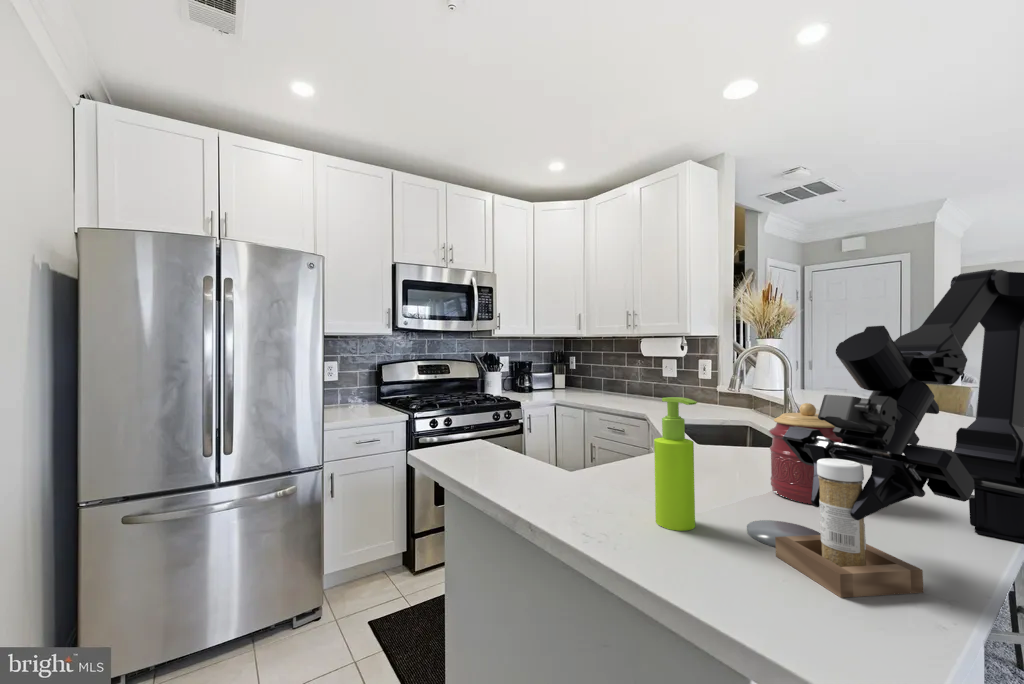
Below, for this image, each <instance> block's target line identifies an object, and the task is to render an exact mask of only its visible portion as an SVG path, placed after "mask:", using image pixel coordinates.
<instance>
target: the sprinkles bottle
mask: <svg viewBox="0 0 1024 684" xmlns="http://www.w3.org/2000/svg"><path fill="white" fill-rule="evenodd" d="M817 474H818V475H819V476H818V478H819V485H820V499H819V503H820V506H819V524H820V525H819V527H820V528H819V529H820V531H819V532H820V533H821V542H822V557H824V558H826V559H827V560H829V561H831V562H833V563H835V564H836V565H838V566H840V567H851V566H866V558H865V557H866V556H865V550H866V544H867V542H866V541H867V539H866V524H865V517H864V518H862V519H860V520H855V519H853V517H852V516H851V514H850V513H851V510H852V508H853V505H854V503H855V501H856V500H857V498H858V496H859V494H860V493H861V491H862V489H863V484H864V482H863V481H864V480H865V475H864V465H863V464H860V463H857V462H854V461H849V460H842V459H830V458H825V459H819V460H818V461H817Z"/></svg>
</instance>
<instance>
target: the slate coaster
mask: <svg viewBox="0 0 1024 684" xmlns="http://www.w3.org/2000/svg"><path fill="white" fill-rule="evenodd" d="M746 533H747V535H748V536H749V537H751V538H752V539H754V540H755V541H757V542H760V543H762V544H764V545H767V546H769V547H773V548H776V543H775V537H785V536H807V535H821V532H820V531H817V530H815V529H813V528H810V527H807V526H804V525H800V524H797V523H792V522H787V521H781V520H770V519H769V520H768V519H765V520H764V519H763V520H761V519H760V520H754V521H751V522H749V523H748V524H747V525H746Z"/></svg>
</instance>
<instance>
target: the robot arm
mask: <svg viewBox="0 0 1024 684" xmlns="http://www.w3.org/2000/svg"><path fill="white" fill-rule="evenodd" d="M979 323H980V325H981V326H982V327H983V330H984V331H983V332H984V333H983V341H982V342H983V343H982V352H981V353H982V354H981V364H980V373H979V374H980V375H979V384H978V394H977V405H976V416H975V420H974V421H973V422H972V423H970V425H968V426H967V427H960V428H958V430H957V431H956V432H955V433H956V434H955V435H956V436H955V437H956V439H955V440H956V441H955V446H954V447H955V448H954V450H952V449H949V448H947V449H946V448H942V447H934V446H929V445H923V444H922V445H920V444H918V443H919V441H920V437H919V436H918V435H917V434H916V431H917V429H918V427H919V426H920V424H921V422H922V420H923V418H924V417H925V415H926V414H931V415H932V414H933V415H938V414H939V413H940V408H939V404H938V402H937V401H936V400H935V394H934V393H933V391H932V389H931V388H930V387H929V386H928V385H935V386H936V385H937V386H938V385H941V386H949V385H950V386H951V385H953V384H955V383H956V382H957V381H958V380H959V379H960V377H961V376H962V375H963V374H964V372H965V369H966V367H967V362H968V357H967V356H966V354H965V352H964V350H963V348H964V345H965V343H966V342H967V340H968V339H969V337H970V336H971V335H972V333H973V332H974V330H975V329H976V328H977V326H978V324H979ZM835 355H836V357H837V358H838V360H839V361H840V363H842V366H844V368H845V369H846V371H848V373H849V374H850V376H851V377H852V379H853V380H854V381H855V383H856V384H857V385H858V386H859V388H861V389H863V390H865V391H871V393H870V395H869V396H868V398H862V397H858V396H852V395H851V396H850V395H838V394H837V395H836V394H824V395H823V397H822V401H821V405H820V408H819V412H818V414H819V415H818V418H819V419H820V420H825V421H826V422H828V423H830V424H832V425H833V426H835V428H834V429H833V432H834V434H835V435H836V436H837V437H841V438H842V440H843V441H842V443H837V442H834V441H832V440H831V439H829V438H825V437H824V435H823V434H822V433H821V431H820V430H817V429H810V428H804V427H797V426H795V427H790V428H789V429H788V430H787V432H786V433H785V435H784V436H783V438H782V439H783V440H784V441H785V442H786V443H787V445H788V446H789V447H790V448H791V450H792V451H793V452H794V453H795V454H796V456H797V457H798V458H799V459H800V461H802V462H803V463H805V464H807V465H811V466H814V476H813V486H812V496H811V502H812V504H811V505H813V506H814V507H816V508H820V503H819V499H820V485H819V478H818V476H819V475H818V474H817V461H818V460H819V459H825V458H830V459H842V460H849V461H854V462H857V463H860V464H861V465H862V466H864V465H865V466H869V467H871V474H870V476H869V478H868V479H867V481H866V483H865V484H864V486H863V487H862V491H861V493H860V494H859V496H858V498H857V500H856V501H855V503H854V505H853V508H852V510H851V513H850V514H851V516H852V517H853V519H855V520H860V519H862V518H864V519H865V518H866V517H869V516H871V515H872V514H874V513H877V512H879V511H880V510H883V509H885V508H887V507H889V506H892V505H894V504H897V503H899V502H903V501H904V500H905V501H906V500H907V499H910V498H913V497H917V498H918V497H919V498H924V497H925V495H926V491H925V490H924V487H925V484H926V486H927V487H928V488H929V489H930V491H931V492H932V493H933V495H934V496H939V497H941V498H942V497H944V498H947V499H952V500H955V501H961V502H967V501H968V507H969V510H968V511H969V524H970V525H971V526H972V527H974V533H975V534H980V535H984V536H990V537H995V538H997V539H998V538H1000V539H1005V540H1009V541H1015V542H1019V543H1023V544H1024V272H1022V271H1021V272H1019V271H1018V272H1016V271H1007V270H1004V269H995V268H992V269H985V270H979V271H978V270H977V271H972V272H965V273H960V274H958V275H955V276H954V277H952V278H951V281H950V288H949V289H948V290H947V291H946V293H945V294H944V295H943V297H942V298H941V299H940V300H939V302H938V303H937V305H936V306H935V308H933V310H932V311H931V313H929V315H928V316H927V318H926V319H925V320H924V321H923V323H922V324H921V326H919V327H917V329H914V330H912V331H908V333H905V334H902V335H900V336H899V337H897V338H896V339H895V340H893V338H892V337H891V335H890V333H889V331H888V329H887V328H886V326H885V325H870V326H865V328H864V330H863V331H862V332H859V333H855V334H853V335H851V336H849V337H848V338H846V339H845V340H843V341H840V342H839V343H838V345H837V346H836V349H835ZM973 492H974V493H973Z"/></svg>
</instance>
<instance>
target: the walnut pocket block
mask: <svg viewBox="0 0 1024 684" xmlns="http://www.w3.org/2000/svg"><path fill="white" fill-rule="evenodd" d="M775 543H776V547H775V557H777V558H778V559H779V560H781V561H783V562H784V563H786V564H787V565H789V566H791V567H792V568H794V570H796V571H798V572H799V573H802V574H803V575H805V576H806V577H807V578H809V579H811V580H813V581H814V582H815V583H817V584H819V585H820V586H822V587H823V588H825V589H827V590H828V591H829V592H831V593H833V594H835V595H836V596H838V597H839V598H840V599H841V598H842V599H843V598H855V597H857V598H858V597H873V596H874V597H875V596H890V595H893V596H895V595H906V594H907V595H908V594H924V571H923V569H922V568H919V567H917V566H916V565H913V564H911V563H908V562H907V561H905V560H903V559H900V558H898V557H896V556H893V555H891V554H890V553H887V552H885V551H883V550H881V549H879V548H876V547H874V546H872V545H870V544H867V543H866V550H865V556H866V557H865V558H866V566H851V567H840V566H838V565H836V564H835V563H833V562H831V561H829V560H827V559H826V558H824V557H822V542H821V535H807V536H785V537H775Z"/></svg>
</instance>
